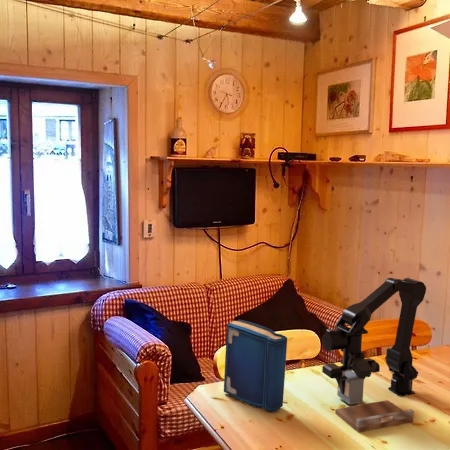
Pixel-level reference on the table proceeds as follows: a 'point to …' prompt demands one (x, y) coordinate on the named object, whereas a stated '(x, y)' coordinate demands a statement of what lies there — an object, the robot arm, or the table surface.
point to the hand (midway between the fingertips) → (349, 392)
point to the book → (255, 365)
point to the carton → (352, 389)
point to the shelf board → (374, 415)
